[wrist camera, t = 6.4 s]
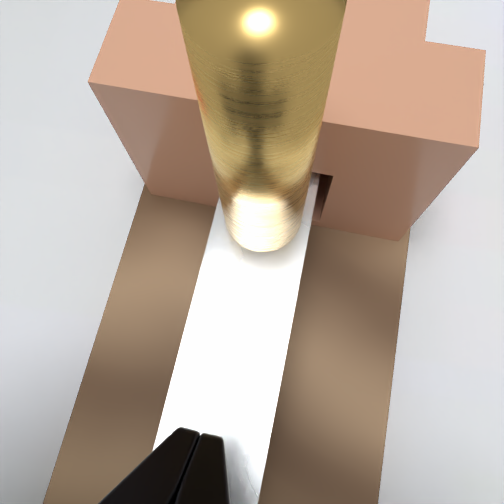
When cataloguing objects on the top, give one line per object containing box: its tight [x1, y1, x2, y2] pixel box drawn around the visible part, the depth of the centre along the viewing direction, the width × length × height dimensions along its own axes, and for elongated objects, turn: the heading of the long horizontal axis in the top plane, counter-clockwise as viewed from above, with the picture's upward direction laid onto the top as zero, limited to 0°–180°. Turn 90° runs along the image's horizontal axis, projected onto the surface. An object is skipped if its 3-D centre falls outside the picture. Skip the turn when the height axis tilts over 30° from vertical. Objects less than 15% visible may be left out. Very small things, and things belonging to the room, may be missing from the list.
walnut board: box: [43, 184, 410, 504], centre depth 16 cm, size 28×11×1 cm, turn 168°
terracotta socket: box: [88, 0, 486, 241], centre depth 16 cm, size 5×10×7 cm, turn 78°
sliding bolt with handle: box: [153, 0, 347, 504], centre depth 11 cm, size 14×3×11 cm, turn 168°
